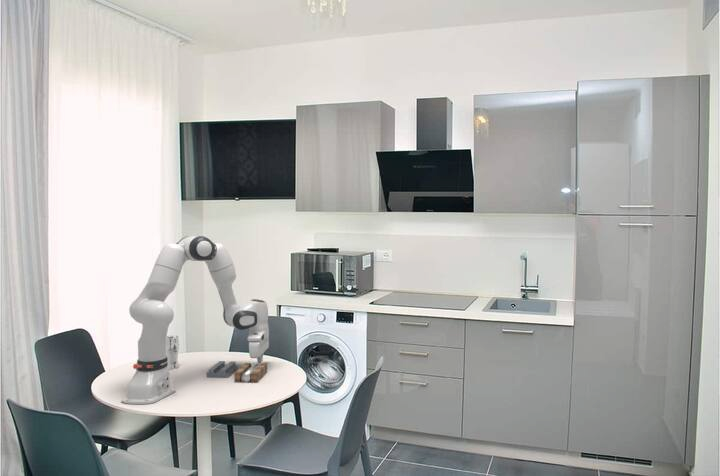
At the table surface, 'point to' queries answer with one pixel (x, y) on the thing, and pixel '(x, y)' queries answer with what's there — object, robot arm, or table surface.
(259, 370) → the wooden channel cradle
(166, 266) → the robot arm
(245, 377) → the axle
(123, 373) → the table surface
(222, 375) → the v block
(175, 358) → the beer glass
